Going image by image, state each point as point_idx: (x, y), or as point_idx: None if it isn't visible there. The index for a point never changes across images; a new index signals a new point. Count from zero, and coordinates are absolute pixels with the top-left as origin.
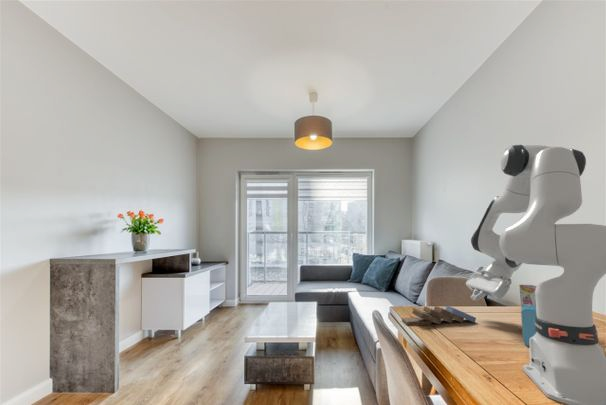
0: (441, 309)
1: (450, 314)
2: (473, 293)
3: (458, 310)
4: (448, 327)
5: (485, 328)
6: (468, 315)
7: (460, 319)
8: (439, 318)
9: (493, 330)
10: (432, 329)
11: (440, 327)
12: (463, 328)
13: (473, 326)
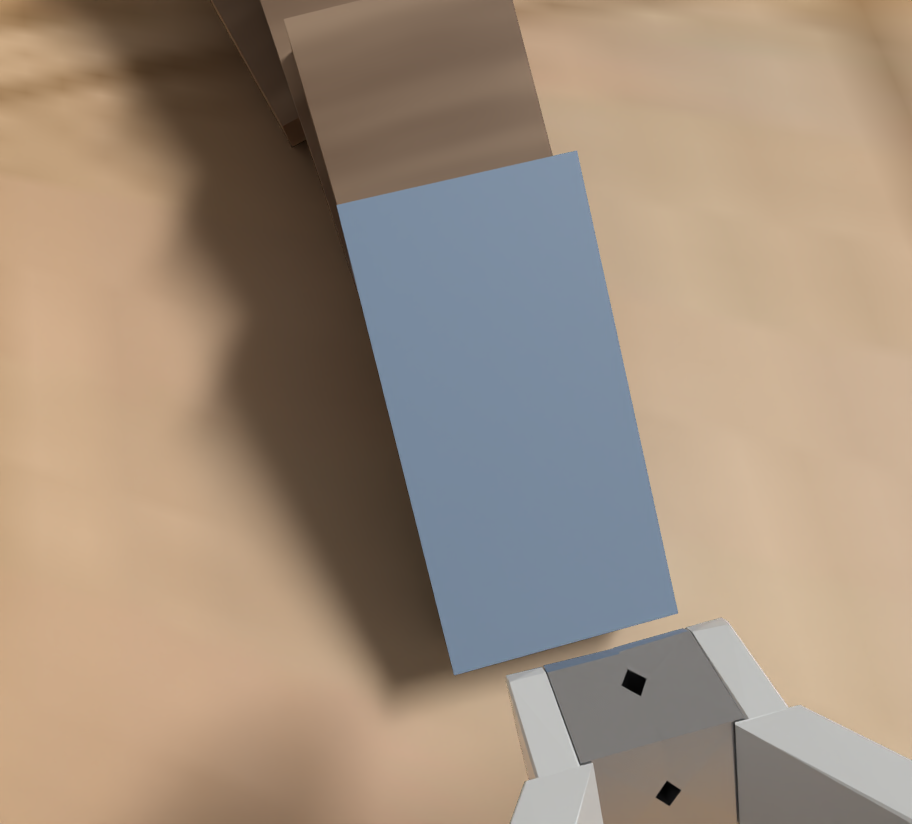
0: (286, 28)
1: None
2: (799, 731)
3: (366, 316)
4: (178, 218)
5: (177, 722)
6: (416, 523)
7: None
8: None
9: (83, 819)
10: (85, 36)
11: (169, 129)
12: (150, 393)
13: (260, 564)
